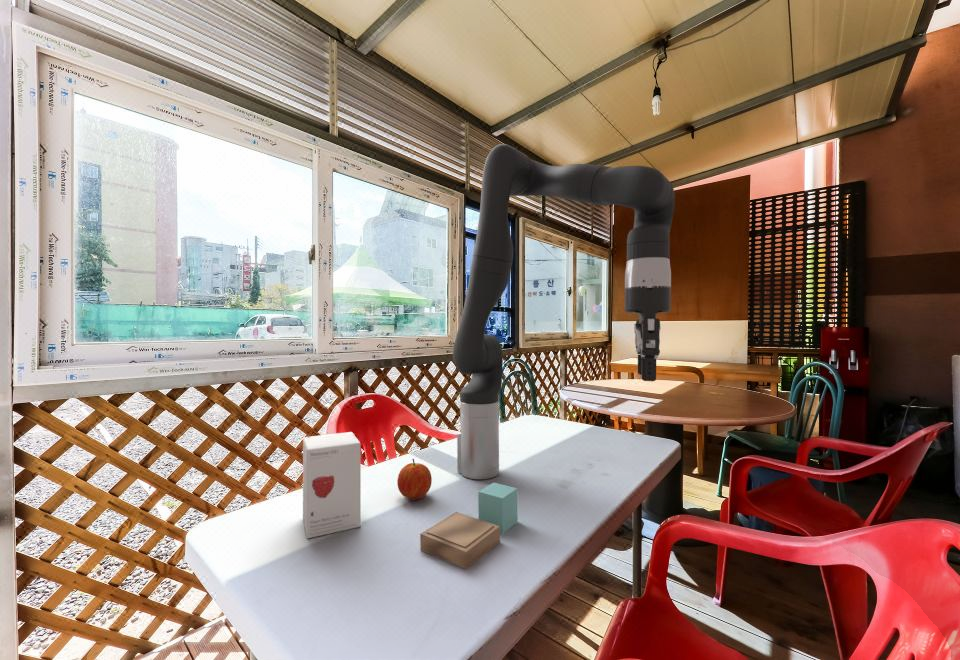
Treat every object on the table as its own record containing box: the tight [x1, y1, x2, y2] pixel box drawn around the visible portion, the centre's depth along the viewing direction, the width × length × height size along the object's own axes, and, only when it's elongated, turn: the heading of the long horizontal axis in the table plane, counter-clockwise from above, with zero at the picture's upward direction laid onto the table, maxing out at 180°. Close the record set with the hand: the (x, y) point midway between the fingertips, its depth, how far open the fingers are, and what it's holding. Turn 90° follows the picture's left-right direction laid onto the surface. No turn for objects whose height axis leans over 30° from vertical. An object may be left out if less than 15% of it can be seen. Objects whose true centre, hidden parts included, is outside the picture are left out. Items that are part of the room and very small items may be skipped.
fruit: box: [396, 458, 433, 501], centre depth 81 cm, size 7×7×8 cm
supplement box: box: [302, 431, 362, 539], centre depth 71 cm, size 9×9×15 cm
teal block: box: [477, 482, 519, 534], centre depth 70 cm, size 5×5×6 cm
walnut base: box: [419, 511, 501, 570], centre depth 63 cm, size 9×9×3 cm
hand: (646, 377), depth 70 cm, fingers open, 8 cm apart
